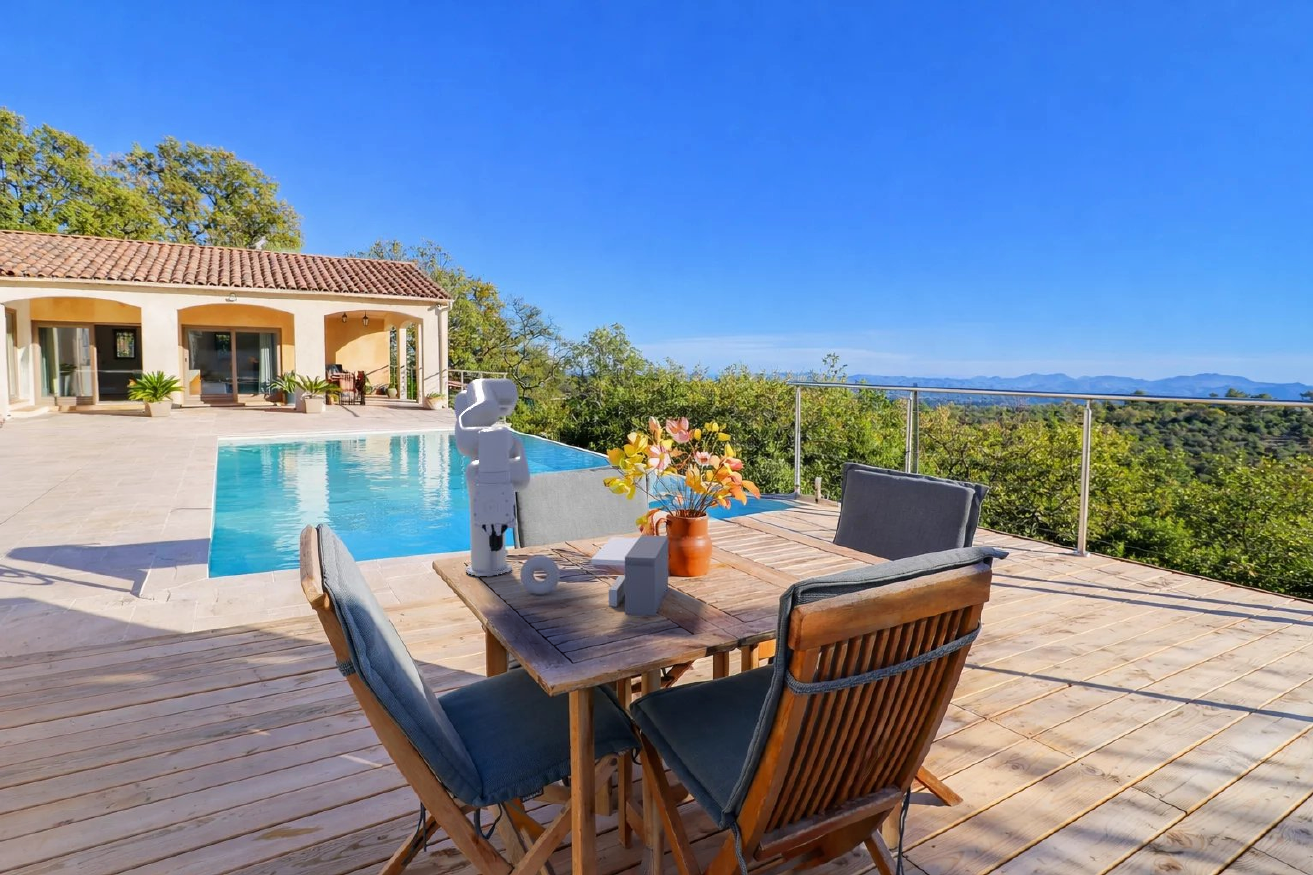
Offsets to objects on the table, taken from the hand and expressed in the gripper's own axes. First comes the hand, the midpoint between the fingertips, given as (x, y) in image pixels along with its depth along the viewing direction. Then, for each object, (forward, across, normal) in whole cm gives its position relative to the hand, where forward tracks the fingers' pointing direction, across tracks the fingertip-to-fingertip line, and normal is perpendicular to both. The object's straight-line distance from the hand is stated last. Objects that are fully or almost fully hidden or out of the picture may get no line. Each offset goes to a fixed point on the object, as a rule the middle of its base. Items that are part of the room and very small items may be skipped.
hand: (496, 550), depth 178 cm
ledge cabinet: (+12, +34, +1) cm, 36 cm away
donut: (+12, +11, +1) cm, 16 cm away
